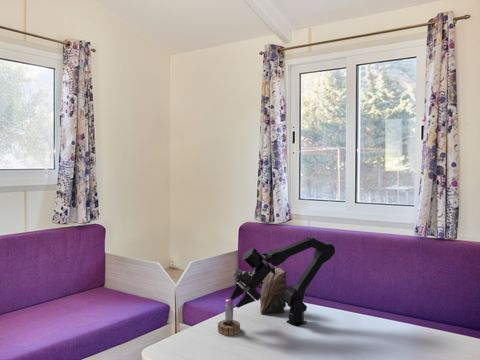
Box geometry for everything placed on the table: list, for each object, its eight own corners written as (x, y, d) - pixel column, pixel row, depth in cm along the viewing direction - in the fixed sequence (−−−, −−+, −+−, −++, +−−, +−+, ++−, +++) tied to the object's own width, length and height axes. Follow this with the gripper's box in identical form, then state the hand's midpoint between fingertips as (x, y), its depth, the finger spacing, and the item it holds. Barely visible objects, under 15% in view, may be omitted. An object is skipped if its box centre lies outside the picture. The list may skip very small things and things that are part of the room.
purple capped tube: (231, 328, 177) (231, 298, 177) (234, 331, 174) (234, 300, 174) (224, 330, 176) (224, 299, 175) (226, 332, 173) (227, 301, 172)
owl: (259, 305, 207) (260, 264, 206) (285, 305, 206) (286, 265, 205) (260, 314, 194) (260, 271, 193) (287, 315, 193) (288, 272, 193)
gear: (229, 324, 181) (229, 318, 181) (244, 331, 175) (244, 324, 175) (213, 330, 175) (213, 323, 175) (227, 337, 169) (228, 329, 169)
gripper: (239, 257, 185) (214, 284, 182) (253, 268, 167) (226, 298, 164) (255, 274, 188) (232, 301, 185) (271, 285, 170) (245, 315, 167)
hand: (233, 303), depth 175 cm, fingers open, 9 cm apart
